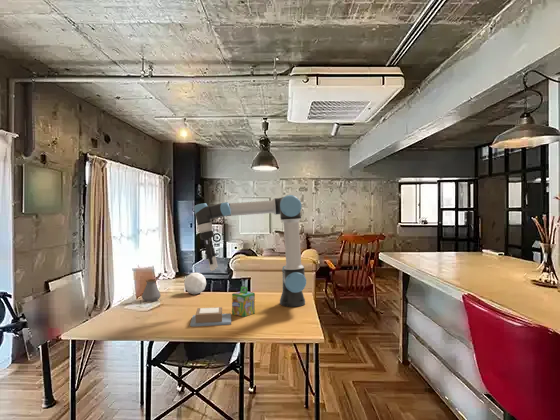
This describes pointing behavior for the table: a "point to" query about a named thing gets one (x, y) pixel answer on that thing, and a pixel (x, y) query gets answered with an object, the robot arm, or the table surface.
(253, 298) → the chalk box
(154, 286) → the coffee pot
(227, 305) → the table surface
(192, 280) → the geometric shape
